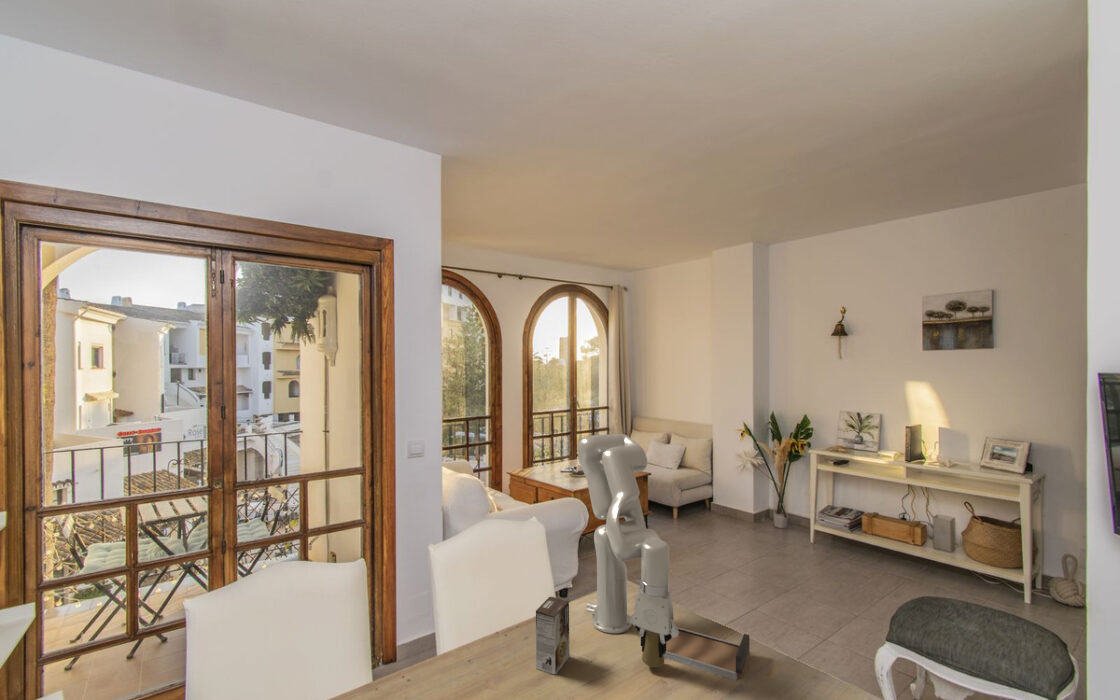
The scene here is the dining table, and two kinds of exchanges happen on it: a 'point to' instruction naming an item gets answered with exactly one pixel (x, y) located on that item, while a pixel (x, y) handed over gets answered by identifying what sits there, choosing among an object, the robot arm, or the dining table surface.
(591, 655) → the dining table surface
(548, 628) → the coffee box
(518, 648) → the dining table surface
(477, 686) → the dining table surface
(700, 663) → the rails
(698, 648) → the brown tray
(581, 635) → the dining table surface
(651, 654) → the cork
